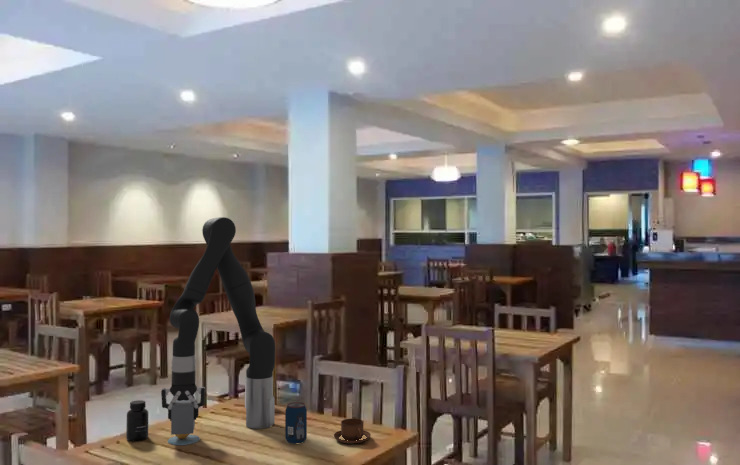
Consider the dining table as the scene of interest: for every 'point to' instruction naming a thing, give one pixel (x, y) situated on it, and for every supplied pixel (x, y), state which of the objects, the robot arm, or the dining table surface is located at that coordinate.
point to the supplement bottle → (137, 421)
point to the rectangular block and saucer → (352, 431)
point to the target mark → (184, 440)
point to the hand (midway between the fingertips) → (183, 419)
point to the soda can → (296, 422)
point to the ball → (181, 436)
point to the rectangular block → (182, 417)
